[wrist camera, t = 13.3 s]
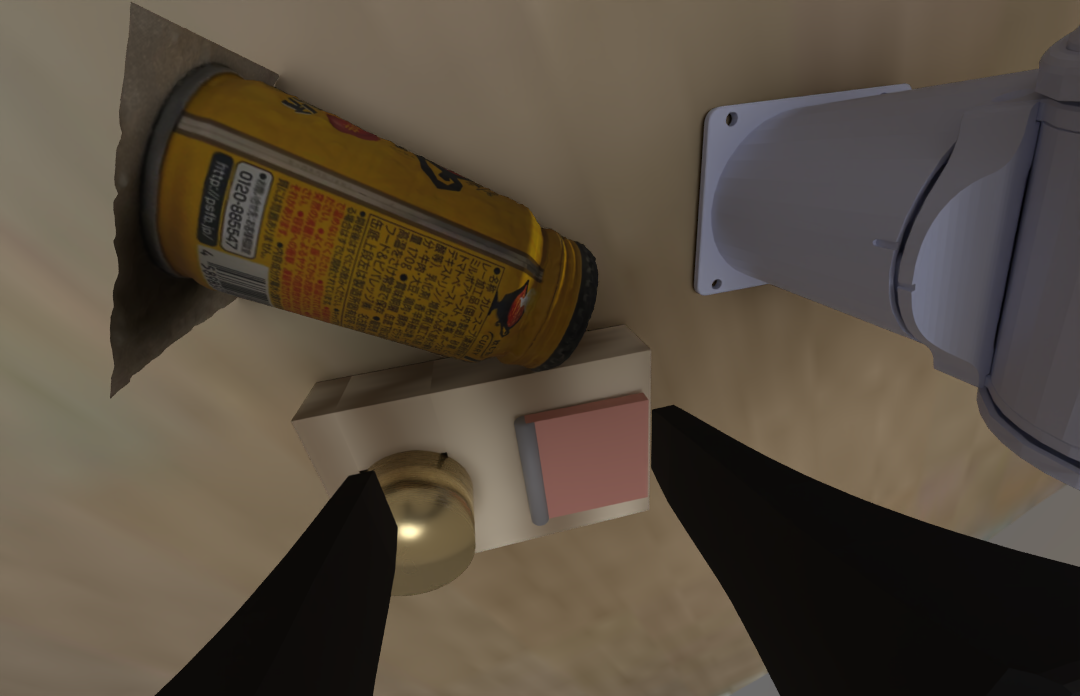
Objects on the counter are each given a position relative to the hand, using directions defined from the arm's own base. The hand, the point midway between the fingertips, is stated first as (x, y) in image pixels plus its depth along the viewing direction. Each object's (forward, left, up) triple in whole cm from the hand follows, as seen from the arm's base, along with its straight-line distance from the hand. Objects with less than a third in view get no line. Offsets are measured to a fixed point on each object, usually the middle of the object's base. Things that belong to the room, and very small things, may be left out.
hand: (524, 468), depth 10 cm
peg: (+5, +6, -9) cm, 12 cm away
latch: (-3, +6, -6) cm, 9 cm away
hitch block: (+1, +6, -9) cm, 11 cm away
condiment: (+8, -7, -6) cm, 12 cm away
